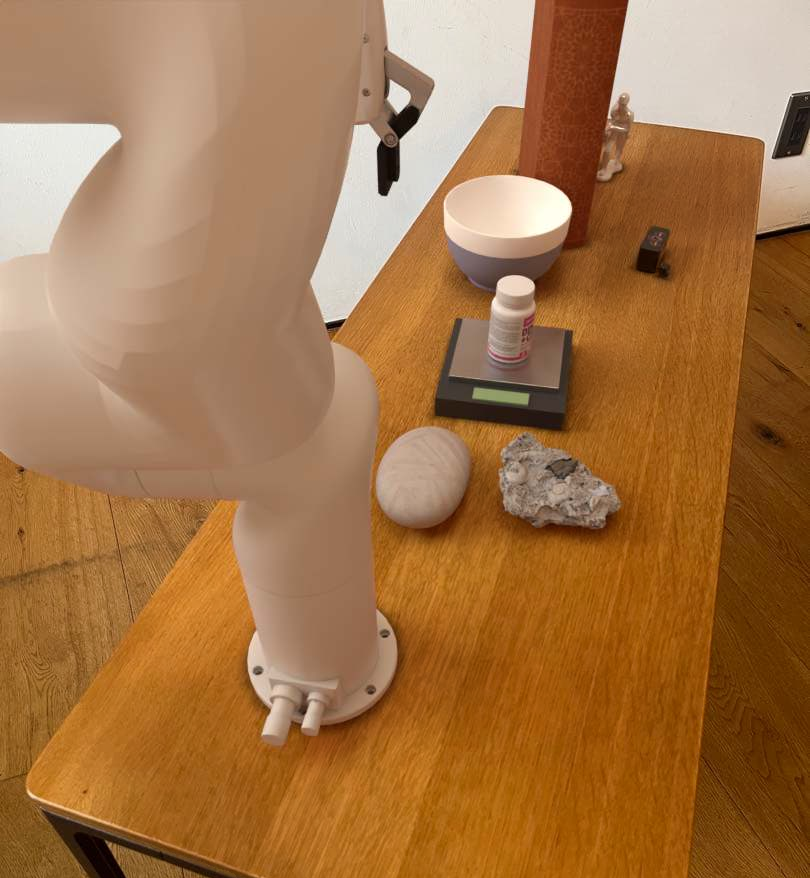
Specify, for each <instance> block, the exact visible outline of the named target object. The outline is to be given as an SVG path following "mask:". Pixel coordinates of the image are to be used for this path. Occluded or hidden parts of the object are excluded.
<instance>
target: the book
mask: <svg viewBox="0 0 810 878" xmlns="http://www.w3.org/2000/svg"><path fill="white" fill-rule="evenodd" d="M629 1H630V0H535V1H534V10H533V19H532V20H533V21H532V30H531V39H530V49H529V59H528V68H527V69H528V70H527V77H526V79H527V80H526V89H525V90H526V91H525V98H524V108H523V118H522V128H521V138H520V147H519V155H518V157H519V158H518V167H517V176H523V177H528V178H533V179H537V180H540V181H543V182H546V183H548V184H550V185H553V186H554V187H556V188H558V189H559V190H561V191H562V192H563V193H564V194H565V195H566V196H567V197H568V199H569V200H570V202H571V206H572V214H571V219H570V223H569V227H568V232H567V236H566V238H565V240H564V243H563V246H562V249H561V250H567V249H575V248H579V247H584V246H586V241H587V235H588V231H589V230H588V229H589V224H590V218H591V213H592V207H593V203H594V195H595V190H596V184H597V174H598V171H599V168H600V162H601V158H602V153H603V152H602V151H603V148H602V146H603V141H604V135H605V130H606V126H607V125H608V118H609V113H610V106H611V102H612V97H613V89H614V84H615V80H616V74H617V69H618V63H619V57H620V52H621V46H622V40H623V34H624V29H625V25H626V24H625V23H626V18H627V12H628V7H629Z"/></svg>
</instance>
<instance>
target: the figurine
mask: <svg viewBox="0 0 810 878" xmlns="http://www.w3.org/2000/svg"><path fill="white" fill-rule="evenodd" d="M630 98H631V97H630V93H627V92H622V93H621V94H620V95H619V96H618V99H617V100H616V101H615V102H614V104H613V106H612V108H611V109H610V111H609V113H610V114H609V115H610V119H611V120H610V121H609V122H608V123H607V124H606V130H605V135H604V141H603V146H602V149H604V150H603V152H602V155H601V160H600V162H601V169H600V170H598V174H597V180H596V182H608V181H609V180H611V179H612V176H613V174H616V173H619V172H621V171H622V170H623V165H622V163H621V161H620V160H621V158H622V155H623V153H624V148H625V146H626V143H627V141H628V140H630V139H631V137H632V132H631V129H632V126H633V122H634V120H635V112H634V111H632V110H631V109H630V108H629V107H628V104H629V103H630V100H631V99H630ZM614 148H615V149H614ZM613 150H614V156H615V158H614V159H613V158H612V159H611V154H612V151H613Z"/></svg>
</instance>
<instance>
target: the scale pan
mask: <svg viewBox="0 0 810 878" xmlns="http://www.w3.org/2000/svg"><path fill="white" fill-rule="evenodd" d="M462 319H463V321H462V325H461V329H460V332H459V336H458V340H457V344H456V348H455V352H454V356H453V360H452V364H451V368H450V372H449V379H448V381H452V382H460V383H469V384H477V385H486V386H494V387H503V388H511V389H520V390H529V391H537V392H546V393H554V394H558V390H559V382H560V372H561V363H562V354H563V345H564V336H565V330H566V328H563V327H555V326H553V327H552V326H545V325H544V326H543V325H535V324H533V331H532V337H531V344H530V351H529V354H528V356H527V357H526V358H525V359H524V360H522V361H520V362H517V363H504V362H500V361H497V360H495V359H493V358H492V357H491V356H490V355H489V353H488V349H487V346H488V338H489V328H490V320H489V319H488V320H487V319H479V318H478V319H477V318H469V317H462Z"/></svg>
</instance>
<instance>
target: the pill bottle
mask: <svg viewBox="0 0 810 878" xmlns="http://www.w3.org/2000/svg"><path fill="white" fill-rule="evenodd" d="M535 292H536V284H535V283H534V281H531V280H530V279H529V278H526V277H523V276H518V275H511V276H506V277H504V278H502V279H500V280H499V281H498V283H497V290H496V292H495V296H494V297H493V299H492V301H491V305H490V318H489V321H490V328H489V338H488V346H487V349H488V353H489V355H490V356H491V357H492V358H493V359H495V360H497V361H500V362H504V363H517V362H520V361H522V360H524V359H525V358H526V357H527V356H528V354H529V351H530V344H531V337H532V331H533V325H535V324H534V323H535V318H536V317H535V316H536V308H537V305H536V302H535V300H534V298H535Z"/></svg>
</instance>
